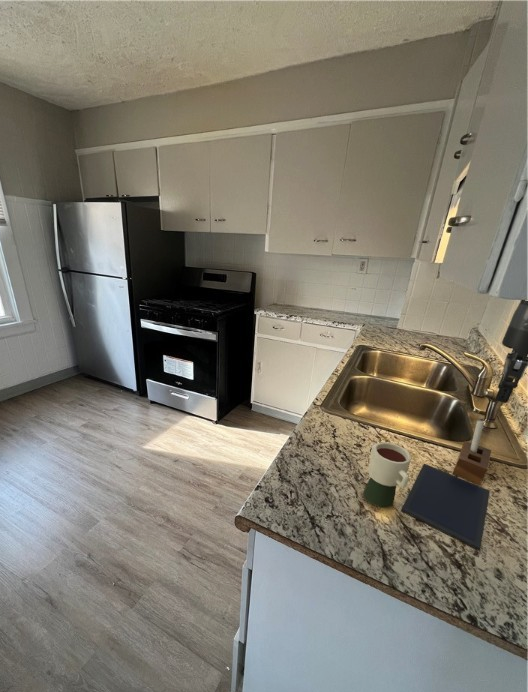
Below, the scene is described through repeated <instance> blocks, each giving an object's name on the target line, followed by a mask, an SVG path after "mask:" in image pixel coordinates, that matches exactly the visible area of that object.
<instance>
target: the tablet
mask: <svg viewBox="0 0 528 692" xmlns="http://www.w3.org/2000/svg"><path fill="white" fill-rule="evenodd" d="M490 493H491V490H490V489H487V488H484V487H483V486H481V485H477V484H475V483H472V482H470V481H468V480H465V479H463V478H460V477H458V476H455V475H453V474H452V473H451V474H450V473H449V472H446V471H444V470H441V469H438V468H437V467H433V466H431V465H429V464H427V463H423V464H422V466H421V467H420V470H419V473H418V474H417V476H416V479H415V481H414V483H413V484H412V487H411V489H410V491H409V493H408V495H407V497H406V498H405V500H404V503H403V505H402V507H401V510H400V511H401V512H402V513H403V514H406V515H408V516H410V517H412V518H414V519H416V520H418V521H420V522H422V523H424V524H426V525H428V526H430V527H432V528H433V529H435V530H438V531H439V532H442V533H443V534H445V535H447V536H450V537H451V538H453V539H455V540H457V541H459V542H461V543H463V544H465V545H467V546H468V547H471V548H473V549H475V550H476V551H481V548H482V542H483V541H482V540H483V537H484V528H485V523H486V518H487V510H488V505H489V498H490Z"/></svg>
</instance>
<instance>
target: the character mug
mask: <svg viewBox="0 0 528 692" xmlns="http://www.w3.org/2000/svg"><path fill="white" fill-rule="evenodd" d="M369 455H370V460H369V462H368V463H369V464H368V467H367V468H368V471H367V473H368V475H369V479H368V481H367V483H366V485H365V488H364V490H363V496H364V499H365V500H366V501H367V502H368V503H370V504H372V505H373V506H376V507H379V508H390V507H392V506H394V505H393V504H394V502H395V497H396V491H397V486H399V488H402V489H403V490H404V489H405V488H406V487H407V485H408V483H409V480H410V476H409V475H408V471H409V467H410V464H411V459H412V458H411V457H412V456H411V454H410V452H409V451H408V450H407V449H406V448H404V447H402V446H401V445H398V444H396V443H393V442H387V441H386V442H383V441H382V442H378V443H376V444H375V443H374V444H372V446H371V450H370V453H369Z"/></svg>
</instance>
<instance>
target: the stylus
mask: <svg viewBox="0 0 528 692" xmlns="http://www.w3.org/2000/svg"><path fill="white" fill-rule="evenodd" d="M484 424H485V422H484V421H483V420H480V419H479V420H476V424H475V428H474V433H473V436H472V439H471V440H472V441H471V443H472V444H471V448H470V451H473V452H475V453H477V449H478V446H480V445H479V444H480V440H481V438H482V437H481V436H482V433H483V428H484V426H485V425H484Z"/></svg>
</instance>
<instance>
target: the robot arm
mask: <svg viewBox="0 0 528 692" xmlns="http://www.w3.org/2000/svg"><path fill="white" fill-rule="evenodd" d="M501 344H502V345H503V346H504V347H505V348H508V349H510V350H511V349H512V350H511V352H507V353H506V356H505V358H504V363H503V369H502V372H501V378H500V381H499V383H498V385H497V389H498V391H497V392H496V396H495V398H494V399H495V401H496V402H499V403H503V404H506V403H507V404H508V402H509V400H510V398H511V396H512V394H513V391H514V390H515V389H516V388H518V386H519V382H520V380H521V379H522V378H523V377H524V374H525V372H526V369H527V368H528V301H525V300H521V299H520V301H519V303H518V305H517V306H516V308H515V310H514V312H513V314H512V317H511V318H510V321H509V323H508V327H507V329H506V331H505V334H504V336H503V339H502V341H501Z"/></svg>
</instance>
